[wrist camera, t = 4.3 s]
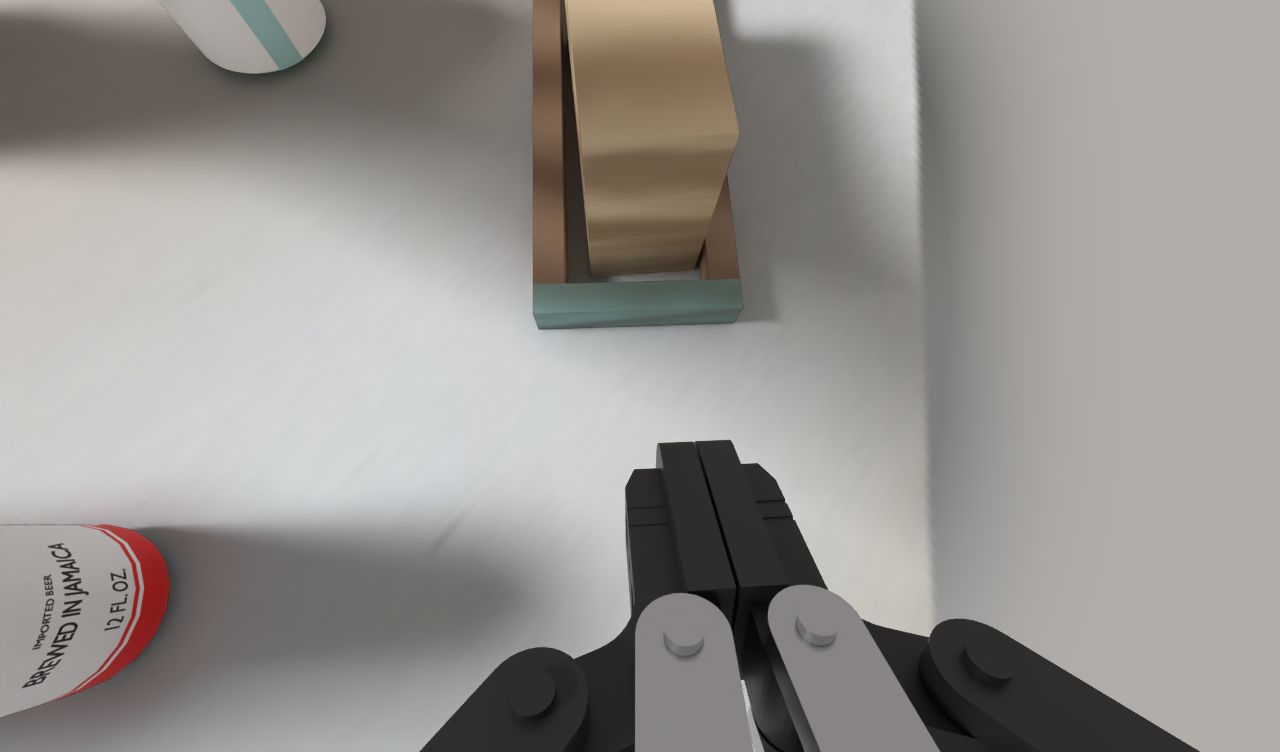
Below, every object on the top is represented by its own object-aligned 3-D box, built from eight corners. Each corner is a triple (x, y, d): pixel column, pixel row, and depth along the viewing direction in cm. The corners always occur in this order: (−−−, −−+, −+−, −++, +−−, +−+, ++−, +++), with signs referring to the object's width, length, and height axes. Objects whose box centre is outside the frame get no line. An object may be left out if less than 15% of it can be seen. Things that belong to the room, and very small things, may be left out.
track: (733, 322, 26) (743, 307, 25) (538, 329, 26) (532, 313, 24) (691, -39, 34) (696, -73, 32) (537, -42, 33) (533, -77, 31)
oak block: (693, 270, 27) (739, 133, 18) (591, 278, 27) (581, 141, 17) (657, 38, 32) (677, -173, 22) (568, 41, 31) (550, -173, 22)
